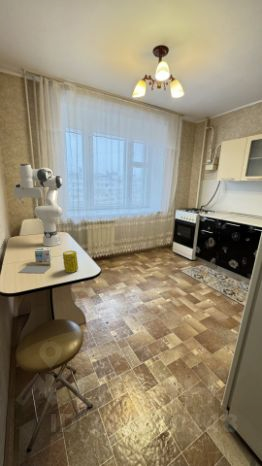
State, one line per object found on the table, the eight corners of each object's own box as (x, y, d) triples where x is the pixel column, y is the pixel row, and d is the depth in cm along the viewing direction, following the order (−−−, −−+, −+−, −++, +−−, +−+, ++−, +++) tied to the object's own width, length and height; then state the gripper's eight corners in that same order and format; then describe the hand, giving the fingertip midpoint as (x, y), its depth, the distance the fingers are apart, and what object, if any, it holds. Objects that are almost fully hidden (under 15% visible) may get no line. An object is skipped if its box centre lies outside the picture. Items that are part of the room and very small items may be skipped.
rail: (30, 264, 148) (29, 262, 147) (50, 265, 147) (50, 262, 147) (28, 265, 146) (28, 263, 145) (49, 266, 146) (49, 263, 145)
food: (69, 276, 134) (63, 272, 141) (84, 268, 141) (77, 264, 148) (62, 257, 128) (56, 254, 135) (78, 249, 135) (71, 247, 142)
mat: (27, 265, 146) (27, 265, 146) (51, 266, 146) (51, 265, 145) (18, 272, 134) (18, 272, 134) (44, 273, 134) (44, 273, 134)
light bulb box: (35, 264, 149) (34, 250, 146) (37, 260, 155) (36, 248, 152) (50, 262, 152) (49, 249, 149) (51, 259, 158) (50, 247, 155)
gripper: (42, 185, 157) (43, 202, 160) (13, 185, 150) (15, 203, 153) (41, 185, 151) (43, 203, 154) (11, 185, 144) (13, 203, 148)
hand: (29, 203), depth 154 cm, fingers open, 8 cm apart
